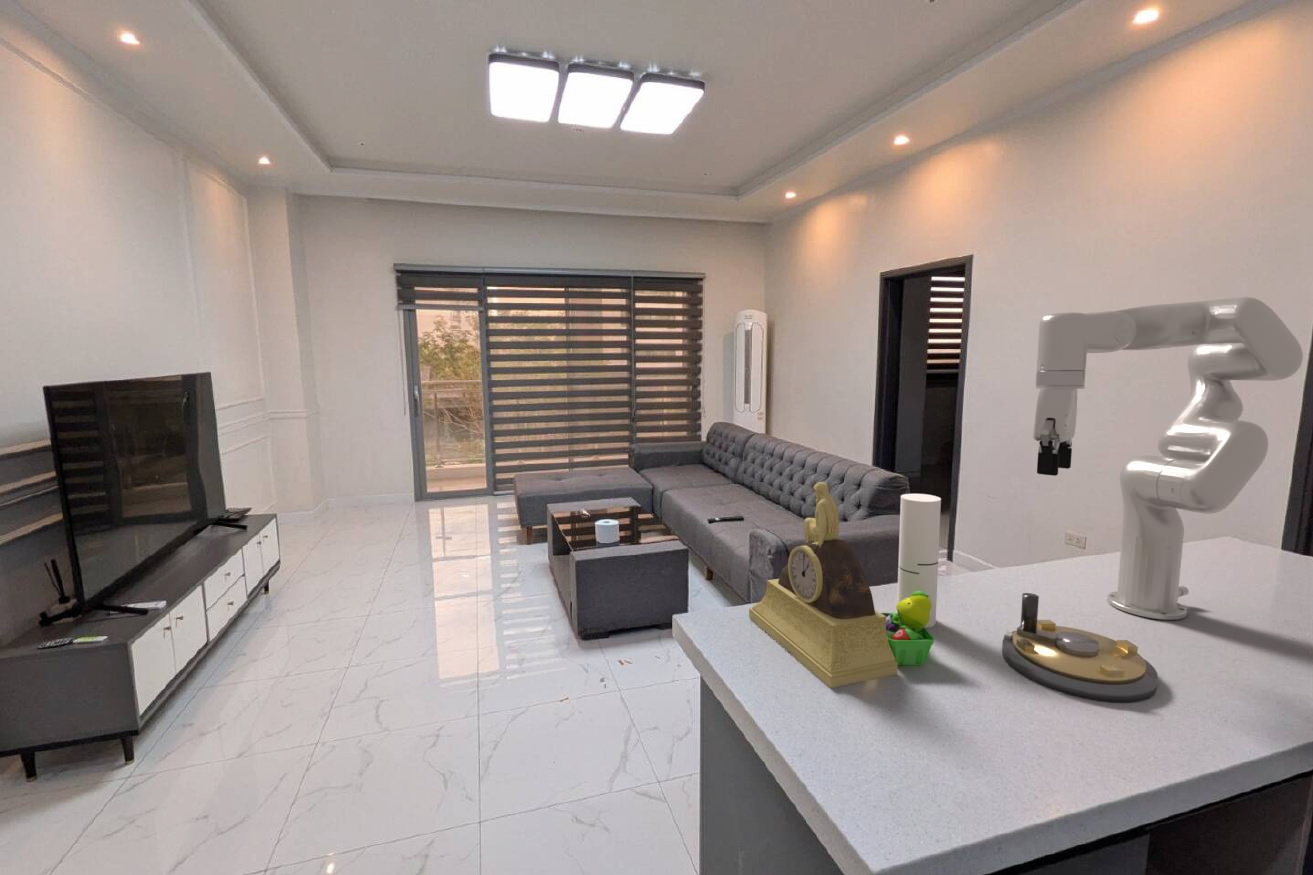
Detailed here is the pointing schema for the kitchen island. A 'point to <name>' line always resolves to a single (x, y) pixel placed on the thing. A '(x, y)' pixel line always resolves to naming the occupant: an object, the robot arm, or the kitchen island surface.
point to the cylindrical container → (919, 548)
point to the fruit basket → (910, 630)
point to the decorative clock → (826, 606)
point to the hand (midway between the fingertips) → (1054, 471)
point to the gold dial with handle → (1075, 650)
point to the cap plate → (1078, 687)
